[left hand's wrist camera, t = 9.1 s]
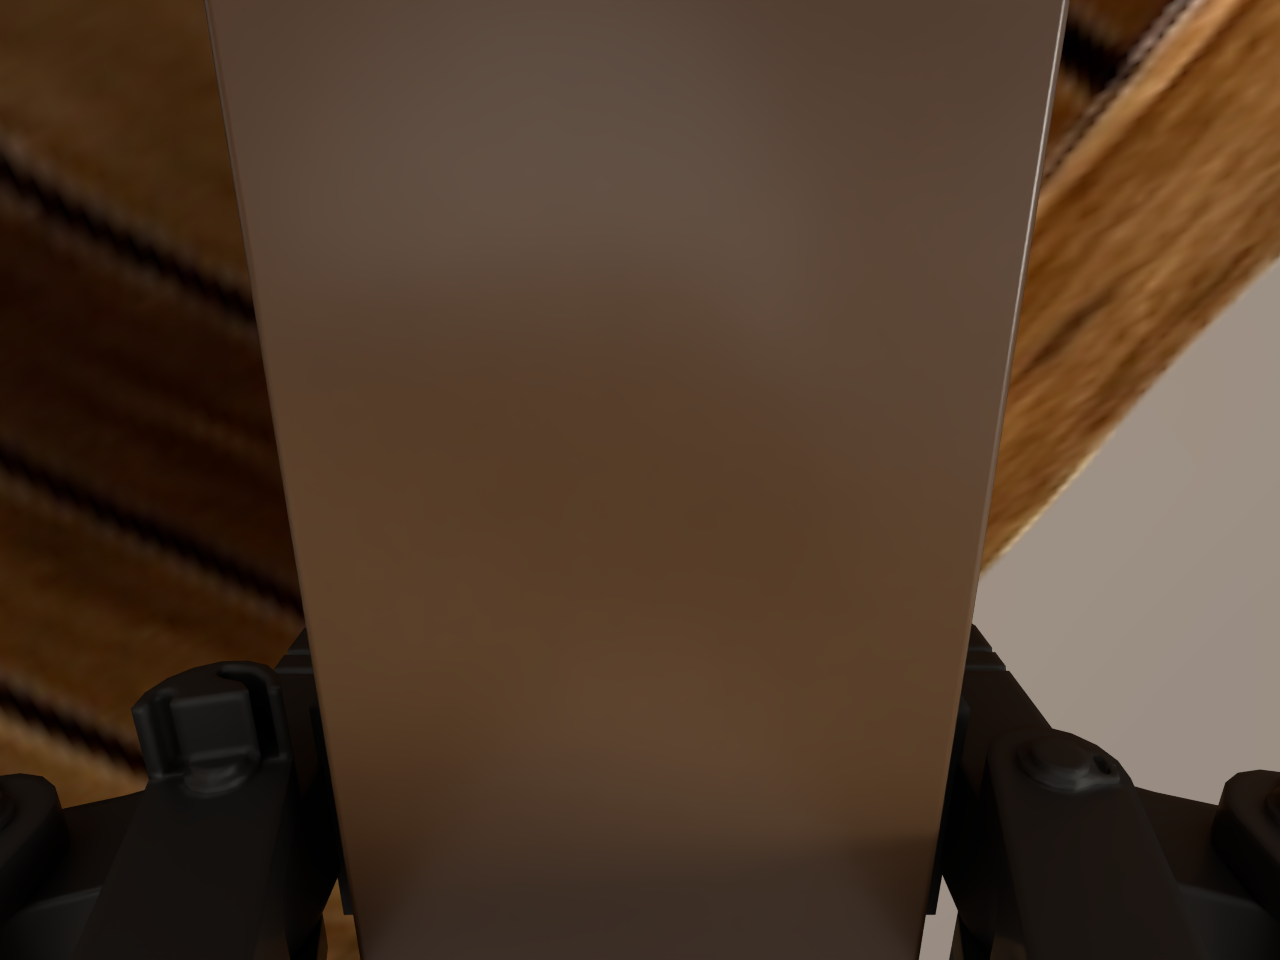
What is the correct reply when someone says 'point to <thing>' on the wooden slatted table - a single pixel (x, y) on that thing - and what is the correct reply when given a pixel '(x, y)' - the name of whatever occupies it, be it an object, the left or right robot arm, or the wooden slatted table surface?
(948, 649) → the beam
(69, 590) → the wooden slatted table surface
